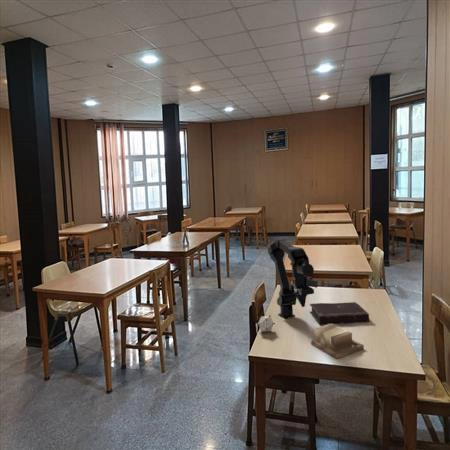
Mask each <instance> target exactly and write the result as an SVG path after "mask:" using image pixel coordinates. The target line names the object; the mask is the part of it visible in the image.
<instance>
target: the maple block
mask: <svg viewBox="0 0 450 450" xmlns="http://www.w3.org/2000/svg"><path fill="white" fill-rule="evenodd" d="M314 340H315V341H317V342H319V343H320V344H322V345H324V346H326V347H328V348H329V349H331V350H333V351H335V352H337V351H340V350H343V349H345V348H348V347H351V346H352V340H353V333H352V332H351V331H348V330H346V329H344V328H342V327H340V326H339V325H337V324H332V323H331V324H324V325H322V326H321V325H320V326H318V327H315V328H314Z"/></svg>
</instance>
